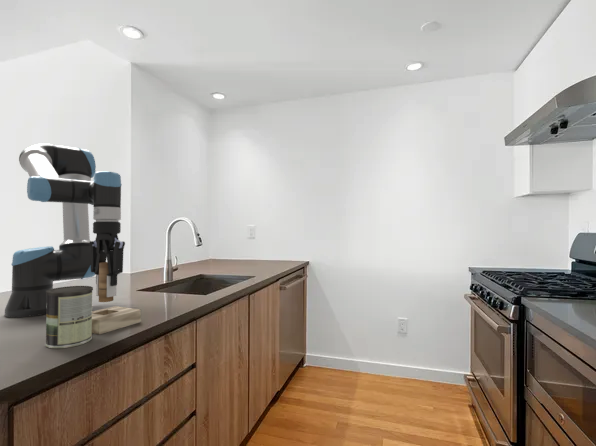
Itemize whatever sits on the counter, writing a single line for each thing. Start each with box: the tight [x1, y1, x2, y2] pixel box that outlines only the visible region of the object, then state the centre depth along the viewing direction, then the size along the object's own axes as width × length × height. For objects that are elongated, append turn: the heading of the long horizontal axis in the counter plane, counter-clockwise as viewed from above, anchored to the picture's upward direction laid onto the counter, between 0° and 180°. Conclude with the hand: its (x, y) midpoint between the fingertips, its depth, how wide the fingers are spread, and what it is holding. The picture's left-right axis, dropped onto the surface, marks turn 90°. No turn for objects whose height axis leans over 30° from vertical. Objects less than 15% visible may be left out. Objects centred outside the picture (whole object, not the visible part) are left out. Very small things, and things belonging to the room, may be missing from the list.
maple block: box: [92, 305, 142, 335], centre depth 103 cm, size 12×14×4 cm
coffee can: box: [45, 285, 94, 350], centre depth 89 cm, size 10×10×14 cm
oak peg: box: [98, 261, 114, 303], centre depth 104 cm, size 4×4×12 cm
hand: (106, 295), depth 104 cm, fingers closed on oak peg, 4 cm apart
